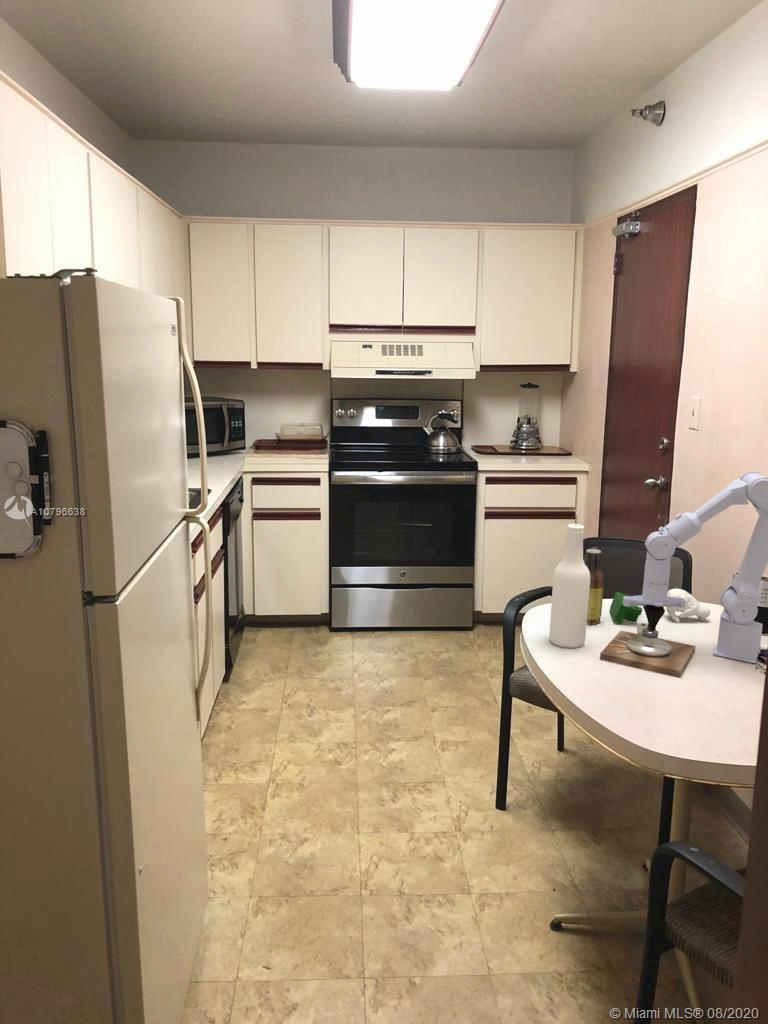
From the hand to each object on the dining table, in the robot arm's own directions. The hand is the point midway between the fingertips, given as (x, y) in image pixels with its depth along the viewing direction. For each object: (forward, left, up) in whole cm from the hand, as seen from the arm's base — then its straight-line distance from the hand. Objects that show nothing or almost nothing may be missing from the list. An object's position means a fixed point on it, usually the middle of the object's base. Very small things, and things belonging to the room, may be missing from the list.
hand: (650, 633), depth 185 cm
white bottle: (+18, +9, -3) cm, 21 cm away
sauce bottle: (+18, -9, -3) cm, 20 cm away
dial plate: (-1, +6, -3) cm, 7 cm away
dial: (0, +5, -1) cm, 5 cm away
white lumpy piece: (-4, -26, -3) cm, 26 cm away
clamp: (+10, -17, -4) cm, 20 cm away
